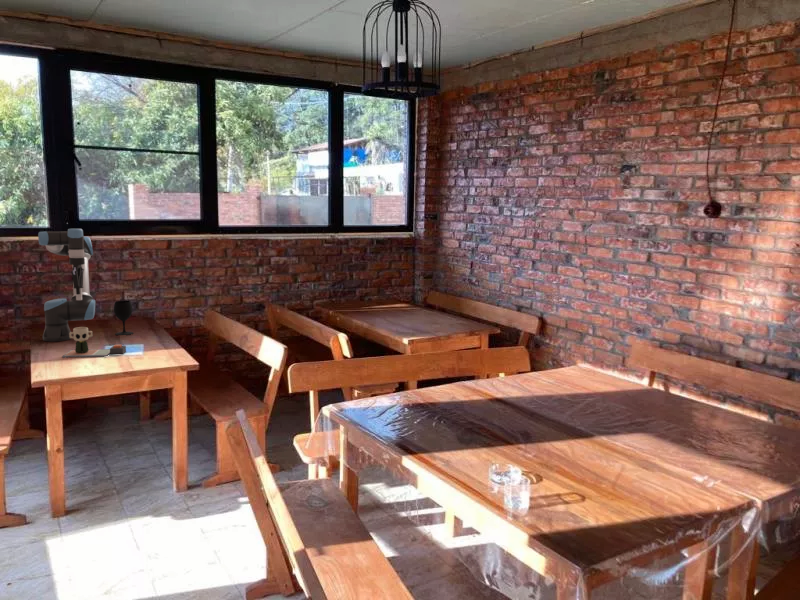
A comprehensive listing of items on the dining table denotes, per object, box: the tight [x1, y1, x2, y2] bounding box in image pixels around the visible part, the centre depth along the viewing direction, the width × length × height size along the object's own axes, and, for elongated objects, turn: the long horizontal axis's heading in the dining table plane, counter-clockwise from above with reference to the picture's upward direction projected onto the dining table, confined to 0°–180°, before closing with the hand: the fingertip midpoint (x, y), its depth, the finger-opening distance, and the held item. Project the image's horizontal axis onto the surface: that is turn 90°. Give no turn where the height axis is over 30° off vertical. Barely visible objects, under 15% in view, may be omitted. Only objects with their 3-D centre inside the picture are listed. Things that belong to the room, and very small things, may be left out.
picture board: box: [61, 348, 110, 359], centre depth 339 cm, size 15×22×1 cm
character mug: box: [69, 326, 93, 353], centre depth 338 cm, size 11×7×13 cm, turn 116°
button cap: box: [113, 344, 123, 348], centre depth 341 cm, size 3×3×3 cm
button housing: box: [109, 345, 127, 355], centre depth 341 cm, size 6×6×4 cm
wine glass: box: [113, 300, 134, 336], centre depth 389 cm, size 10×10×20 cm
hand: (79, 299), depth 351 cm, fingers closed
